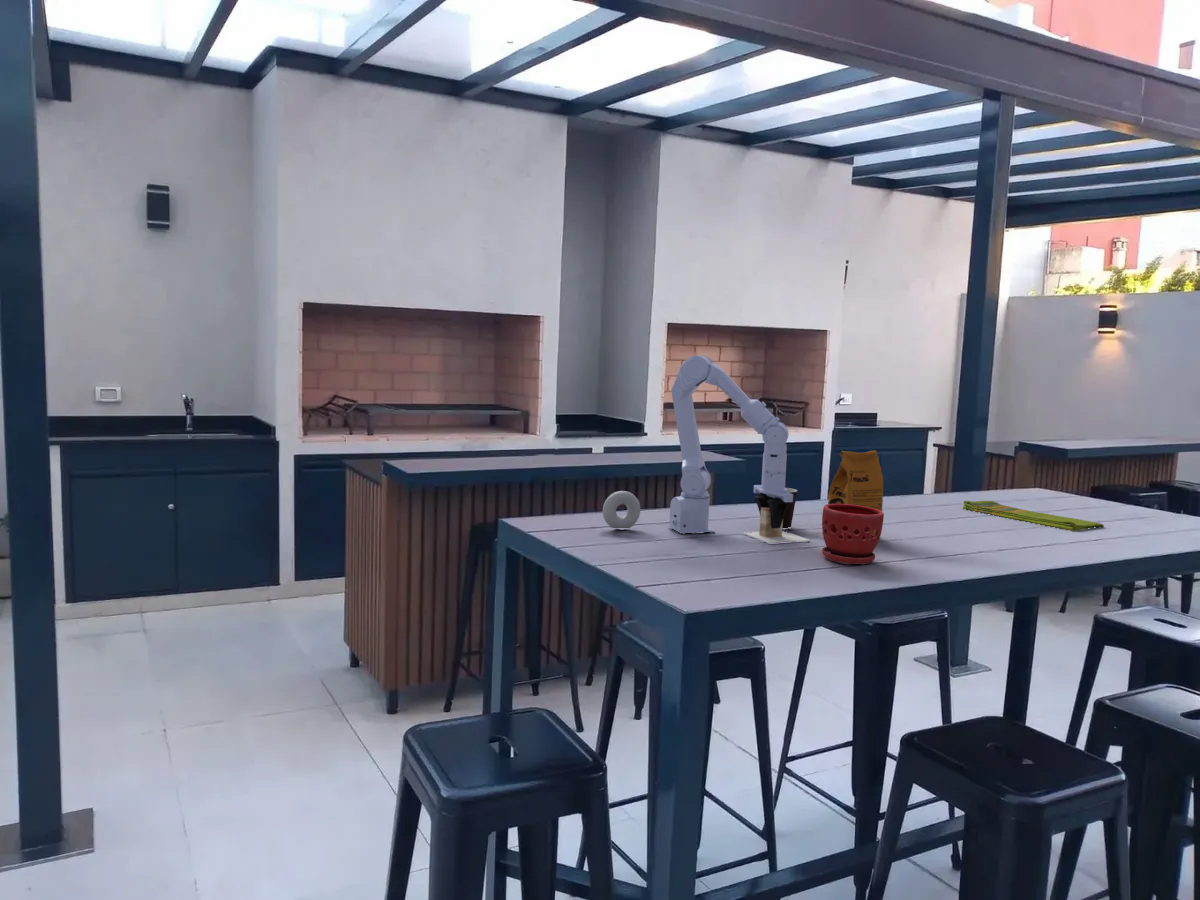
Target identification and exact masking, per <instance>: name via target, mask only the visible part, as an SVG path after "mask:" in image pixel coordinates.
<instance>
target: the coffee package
mask: <svg viewBox="0 0 1200 900" xmlns="http://www.w3.org/2000/svg"><path fill="white" fill-rule="evenodd" d="M839 456H840V457H841V460H842V461H841V462H840V464H839V466H838V470H837V471H836V473H835V474H834V477H833V479H832V481H831V484H830V487H829V491H828V496H827V497H828V499H827V501H828V502H827V504H851V505H859V506H865V507H870V508H874V509H877V510H880V511H882V512H883V505H884V503H883V501H884V499H883V498H884V497H883V496H884V476H883V473H882V467H881V465H880V459H879V456H878V452H877V450H869V451H866V452H857V451H856V452H855V451H847V450H846V451H844V450H841V451H840V454H839ZM835 527H836V525H835ZM836 528H837V527H836ZM875 534H876V529H875V530H874V531H873V536H875Z"/></svg>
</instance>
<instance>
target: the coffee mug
mask: <svg viewBox="0 0 1200 900" xmlns="http://www.w3.org/2000/svg"><path fill="white" fill-rule="evenodd" d="M785 489H788V492H789V493H791V494H793V502H791V504H790V506H789V507H788V509H787V510H786V512H785V515H784V517H783V527H782V528H788V527H791V528H792V524H793V523H792V522H793V518H794V512H795V507H796V501H797V500H796V499H797V497H798V496H797V494H798V490H797V489H795V488H790V487H785Z"/></svg>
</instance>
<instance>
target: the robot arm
mask: <svg viewBox="0 0 1200 900" xmlns="http://www.w3.org/2000/svg"><path fill="white" fill-rule="evenodd" d="M704 382H705V383H706V384H709V385H713V386H716V387H718V389H720V390H721V391H722V392H723V393H724V394H725V395H726V396H728V397H729V398H730V399H731V400H732V401H733V402H734V403H735V405H737V406H738V407H739V408H740V417H742V418H743V420H744V421H745V422H746V423H747V424H748V425H749V426H750V427H751V428H752V429H753V430H754V431H755V432H756V433H757V434H759V435H761V436H762V440H763V443H764V450H763V451H764V452H763V454H762V470H761V471H762V472H761V484H754V485H753V493H754V494H758V495H754V497H753V499H754V501H755V503H756V505H757V508H758V512H759V517H760V516H761V507H770V513H771V527H772V528H780V527H781V523H782V520H783V517H784V515H785V512H786V510H787V509H788V507H789V506H790V504H791V502H793V494H791V493H789V492H788V489H785V488H786V477H787V475H786V474H787V473H786V472H787V457H788V455H787V450H788V446H787V441H788V439H789V434H790V433H789V429H788V427H786V424H785V423H784V422H781V421H780V420H781V419H780V418H779V416H775V415H774V414H773V413H772V412H771V411H770V410H769V409H767V407H766V406H767V404H766V402H764V401H760V400H759V399H751V398H749V396H748V395H747V394H746V393H745V392H744V391H743V390H742V388H740V386H739V385H738V384H737V383H736V382H735V381H734V379H733V378H732V377H730V375H729V374H728V373H727V372H726V371H725V370H724V369H723V368H721V367H720V366H719V364H717V363H715V362H713V360H712V358H710V357H708V356H707V355H692V356H689V357H688V358H686V360H685V361H684V362H683V363H682V364H681V365H680V366H679V369H678V373H677V375H676V377H675V380H674V382H673V385H672V388H671V397H672V404H673V410H674V416H675V421H676V429H677V433H678V434H677V435H678V439H679V445H680V452H681V458H682V463H681V472H682V473H681V474H682V475H681V478H680V488H681V491H682V492H681V493H680V496H679V495H678V496H675V497H673V498H672V499H671V501H670V504H669V505H670V506H669V507H670V508H669V522H668V523H669V525H668V526H667V528H668V527H670V528H672V529H674V530H676V531H678V532H680V533H679V534H681V533H692V534H701V533H700V532H710V533H715V532H716V530H715V529H711V528H710V527H709V522H710V521H709V520H710V499H711V498H710V497H711V495H710V493H709V492H708V489H709V487H710V485H711V484H712V483H711V482H712V476H711V474H710V472H709V471H708V469H707V468H706V463H705V459H704V458H703V454H702V449H701V448H702V447H701V443H700V436H699V431H698V424H697V419H696V412H695V407H694V399H693V394H694V393H695V392H696V391H697V389H698V388H699V386H700V385H701V384H703V383H704ZM672 529H671V530H672ZM674 530H673V531H674ZM676 531H675V532H676ZM714 531H715V532H714ZM678 532H677V533H678ZM697 532H699V533H697Z"/></svg>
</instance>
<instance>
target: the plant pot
mask: <svg viewBox="0 0 1200 900" xmlns="http://www.w3.org/2000/svg"><path fill="white" fill-rule="evenodd" d="M884 514H885V513H884V512H883V510H882V511H880V510H877V509H874V508H870V507H865V506H859V505H851V504H828V503H827V504H825V505H824V506H823V508H822V515H821V516H822V518H821V527H822V528H821V530H822V537H823V541H824V544H825V545H826V546H824V547H823V548H822V549H821V553H822V555H823V557H824V558H825V559H827V560H828V559H829V560H828V561H831V562H833V563H837V562H838V563H837V564H842V563H844V565H850V564H861V565H867V564H870V563H872V562H873V561H875V558H876V554H875V553H874V551H875V549H876V547H877V546H878V543H879V542H880V538H881V534H882V531H883V525H884V517H885V515H884ZM835 525H836V527H837V528H836V527H835ZM875 529H876V534H875V536H873V531H874V530H875Z"/></svg>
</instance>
